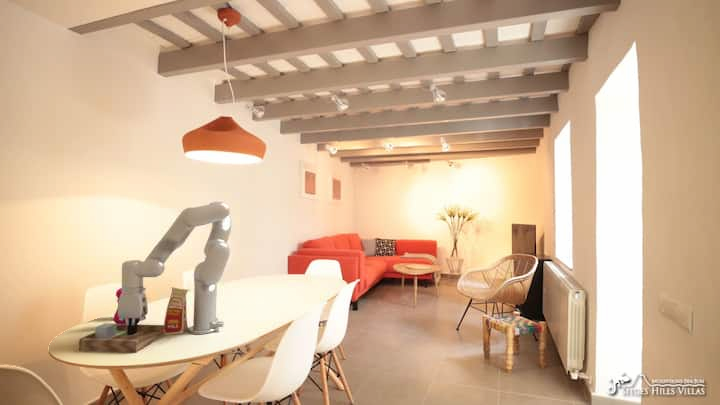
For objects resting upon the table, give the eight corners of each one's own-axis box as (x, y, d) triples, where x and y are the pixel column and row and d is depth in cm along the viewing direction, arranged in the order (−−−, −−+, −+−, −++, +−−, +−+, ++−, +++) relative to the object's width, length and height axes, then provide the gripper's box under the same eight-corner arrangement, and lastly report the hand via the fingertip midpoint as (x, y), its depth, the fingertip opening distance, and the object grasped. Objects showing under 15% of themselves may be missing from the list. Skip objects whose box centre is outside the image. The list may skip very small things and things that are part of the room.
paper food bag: (162, 334, 151) (164, 289, 151) (168, 327, 160) (169, 285, 160) (185, 333, 154) (186, 288, 154) (189, 326, 162) (190, 284, 163)
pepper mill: (122, 330, 155) (123, 286, 156) (109, 329, 157) (110, 285, 157) (135, 325, 162) (137, 283, 163) (122, 323, 164) (124, 282, 164)
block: (115, 335, 144) (116, 323, 144) (106, 339, 139) (106, 327, 139) (104, 334, 145) (105, 323, 145) (94, 339, 140) (95, 327, 140)
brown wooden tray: (164, 335, 150) (164, 325, 150) (136, 352, 132) (136, 341, 132) (113, 333, 151) (113, 323, 151) (78, 350, 133) (79, 339, 133)
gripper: (155, 288, 146) (155, 330, 146) (121, 287, 146) (121, 330, 146) (144, 292, 138) (143, 337, 138) (108, 292, 139) (107, 337, 139)
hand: (132, 333), depth 142 cm, fingers closed
